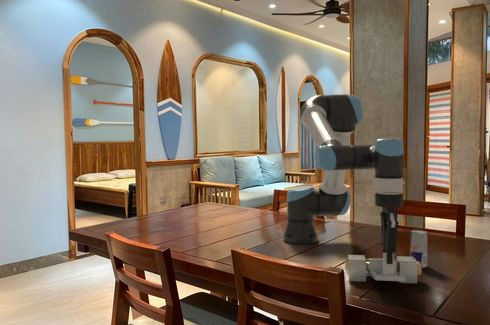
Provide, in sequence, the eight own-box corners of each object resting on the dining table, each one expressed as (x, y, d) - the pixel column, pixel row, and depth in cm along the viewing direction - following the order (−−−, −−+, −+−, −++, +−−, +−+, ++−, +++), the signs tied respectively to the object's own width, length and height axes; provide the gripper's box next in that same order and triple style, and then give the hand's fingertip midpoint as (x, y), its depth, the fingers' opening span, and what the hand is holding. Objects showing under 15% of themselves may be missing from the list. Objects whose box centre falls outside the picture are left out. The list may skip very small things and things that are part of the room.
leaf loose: (375, 280, 114) (375, 263, 115) (367, 273, 129) (367, 258, 130) (405, 281, 113) (404, 264, 114) (393, 274, 128) (393, 259, 129)
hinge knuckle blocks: (349, 280, 126) (349, 259, 126) (346, 268, 138) (346, 249, 138) (417, 283, 123) (417, 261, 123) (407, 270, 135) (407, 250, 135)
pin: (346, 273, 127) (346, 261, 127) (345, 269, 131) (345, 258, 130) (421, 276, 123) (421, 263, 123) (418, 272, 127) (418, 260, 127)
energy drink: (407, 263, 142) (407, 230, 142) (421, 263, 143) (422, 229, 142) (414, 268, 137) (415, 233, 136) (430, 268, 137) (430, 233, 137)
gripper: (408, 195, 108) (407, 282, 110) (397, 189, 121) (397, 267, 122) (379, 195, 109) (379, 281, 111) (371, 189, 122) (371, 266, 124)
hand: (388, 273), depth 117 cm, fingers closed
